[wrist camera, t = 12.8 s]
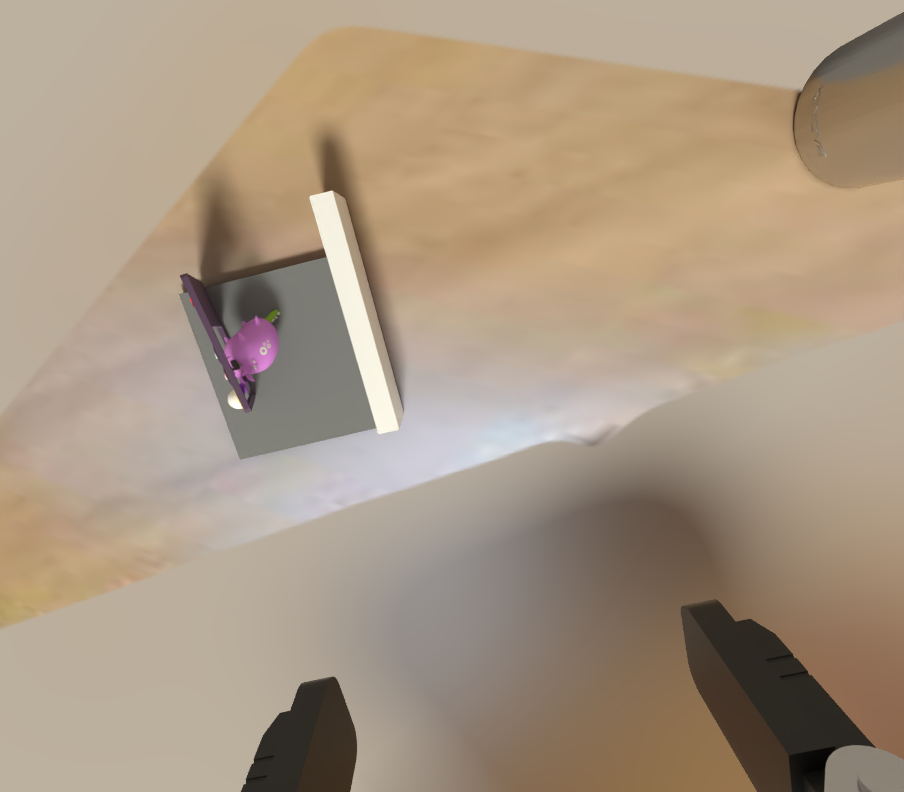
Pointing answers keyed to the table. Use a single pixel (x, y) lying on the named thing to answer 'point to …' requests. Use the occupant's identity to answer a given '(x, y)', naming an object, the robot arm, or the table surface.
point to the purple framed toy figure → (236, 345)
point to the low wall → (358, 309)
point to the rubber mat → (288, 360)
